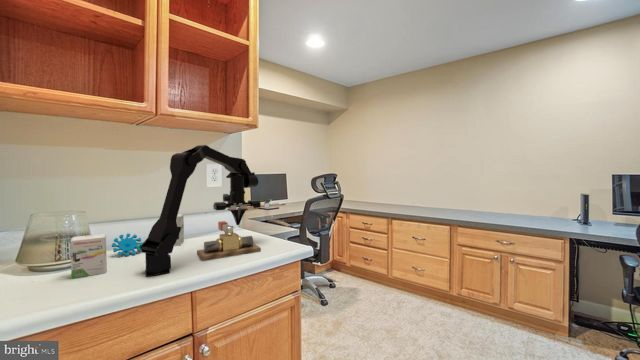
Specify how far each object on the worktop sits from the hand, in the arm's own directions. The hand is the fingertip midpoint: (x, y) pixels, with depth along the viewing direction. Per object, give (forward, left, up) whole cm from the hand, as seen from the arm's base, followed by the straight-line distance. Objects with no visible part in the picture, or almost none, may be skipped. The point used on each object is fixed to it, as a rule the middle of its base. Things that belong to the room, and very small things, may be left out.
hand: (237, 225), depth 122 cm
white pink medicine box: (-49, -7, -9) cm, 50 cm away
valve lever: (-6, -3, -1) cm, 7 cm away
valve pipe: (-6, -8, -9) cm, 14 cm away
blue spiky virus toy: (-39, +11, -9) cm, 42 cm away
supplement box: (-23, +19, -9) cm, 31 cm away
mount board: (-6, -8, -9) cm, 14 cm away
